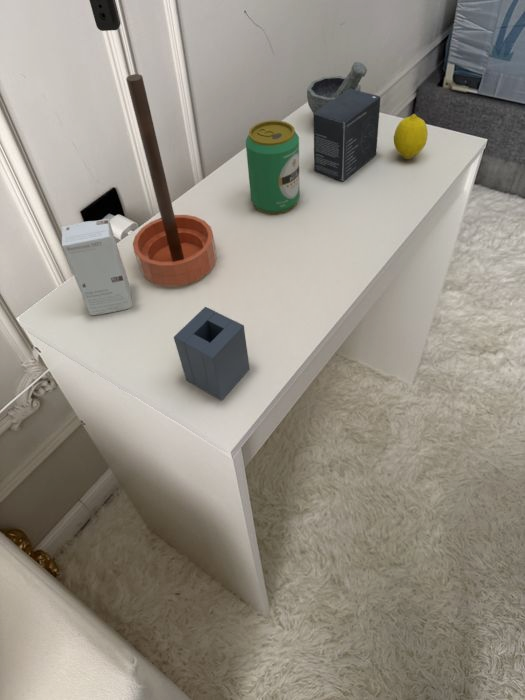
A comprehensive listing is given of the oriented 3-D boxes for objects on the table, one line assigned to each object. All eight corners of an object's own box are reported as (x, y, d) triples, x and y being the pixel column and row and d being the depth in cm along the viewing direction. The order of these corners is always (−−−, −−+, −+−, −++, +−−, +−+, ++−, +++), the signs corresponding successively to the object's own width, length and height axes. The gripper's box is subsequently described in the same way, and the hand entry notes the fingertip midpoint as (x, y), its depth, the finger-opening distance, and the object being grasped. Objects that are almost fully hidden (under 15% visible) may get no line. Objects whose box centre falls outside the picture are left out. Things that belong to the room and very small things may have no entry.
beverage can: (280, 221, 83) (277, 150, 74) (241, 205, 86) (233, 136, 77) (309, 196, 87) (309, 126, 78) (270, 182, 90) (266, 113, 81)
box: (346, 144, 97) (350, 86, 89) (377, 155, 94) (383, 96, 86) (311, 170, 92) (312, 111, 84) (342, 182, 89) (346, 122, 81)
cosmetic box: (90, 317, 72) (58, 247, 62) (89, 295, 75) (59, 225, 65) (135, 308, 72) (110, 237, 63) (132, 286, 75) (108, 216, 66)
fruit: (424, 151, 94) (432, 106, 87) (421, 167, 90) (430, 122, 84) (393, 148, 95) (399, 104, 89) (389, 164, 91) (395, 120, 85)
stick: (171, 263, 77) (124, 81, 57) (173, 255, 78) (127, 74, 58) (183, 263, 77) (140, 80, 57) (185, 255, 78) (143, 73, 58)
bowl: (133, 289, 75) (125, 265, 71) (148, 239, 82) (141, 215, 79) (212, 288, 74) (207, 264, 70) (220, 237, 81) (216, 213, 78)
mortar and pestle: (297, 127, 102) (297, 62, 93) (323, 108, 106) (325, 43, 97) (348, 142, 97) (352, 75, 88) (373, 121, 102) (379, 55, 92)
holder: (185, 380, 64) (173, 336, 58) (214, 350, 66) (205, 306, 60) (221, 401, 61) (212, 358, 55) (249, 369, 64) (244, 325, 58)
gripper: (44, -225, 45) (100, -8, 58) (-20, -211, 36) (63, 43, 49) (128, -234, 45) (167, -12, 57) (84, -222, 36) (142, 38, 48)
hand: (119, 13), depth 53 cm, fingers open, 8 cm apart
